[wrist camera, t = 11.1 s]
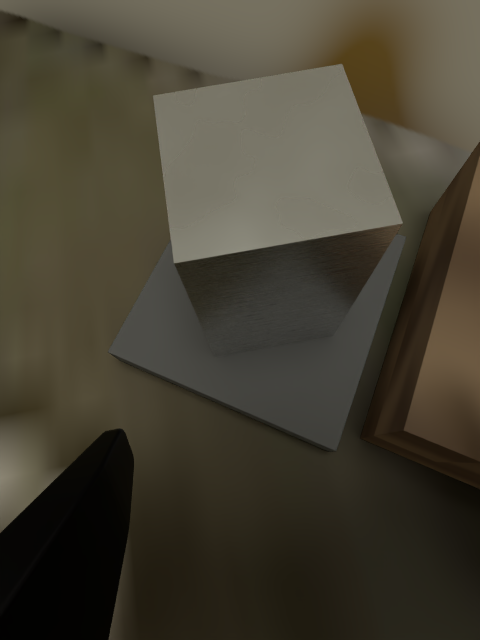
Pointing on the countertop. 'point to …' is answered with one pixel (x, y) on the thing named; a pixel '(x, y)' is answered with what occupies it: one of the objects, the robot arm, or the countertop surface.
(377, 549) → the countertop surface
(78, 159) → the countertop surface
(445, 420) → the brown square tray
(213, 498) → the countertop surface
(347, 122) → the steel peg
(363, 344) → the rubber pad
